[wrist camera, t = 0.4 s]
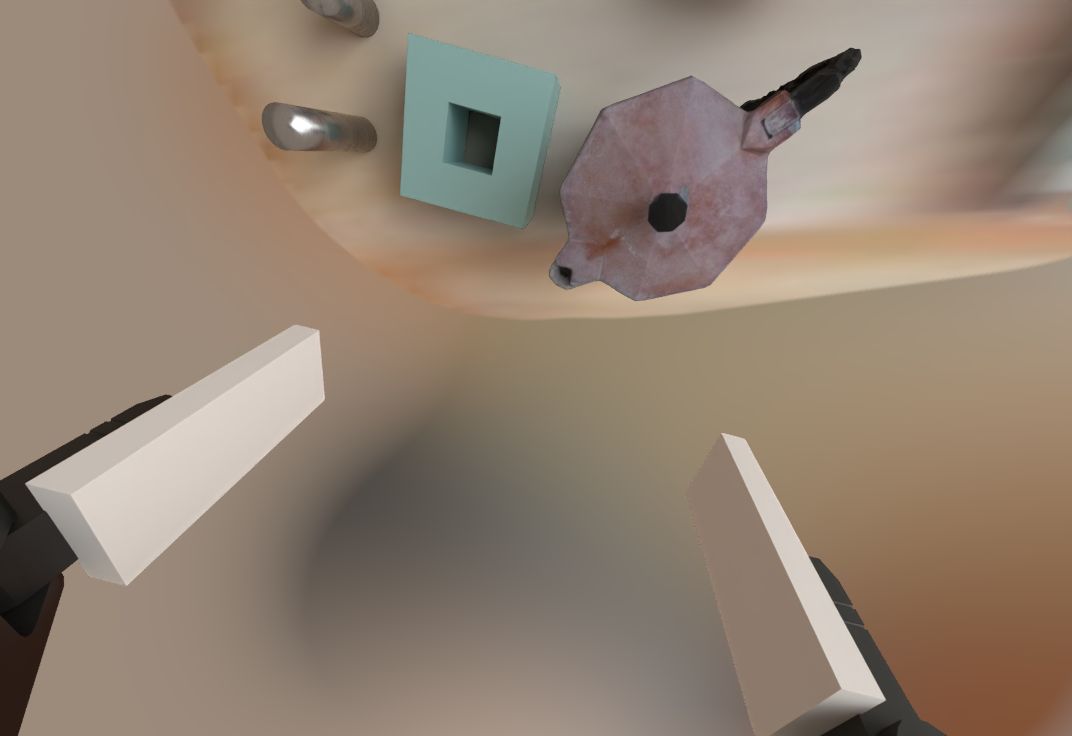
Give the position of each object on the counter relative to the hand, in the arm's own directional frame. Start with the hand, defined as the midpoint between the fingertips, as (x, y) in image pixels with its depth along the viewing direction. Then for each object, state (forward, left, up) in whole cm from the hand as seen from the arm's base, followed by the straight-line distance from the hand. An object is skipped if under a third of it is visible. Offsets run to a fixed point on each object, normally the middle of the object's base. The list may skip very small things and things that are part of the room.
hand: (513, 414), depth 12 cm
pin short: (-13, -19, -27) cm, 35 cm away
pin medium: (-5, -19, -27) cm, 33 cm away
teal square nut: (-7, -8, -27) cm, 29 cm away
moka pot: (-8, +5, -27) cm, 28 cm away
